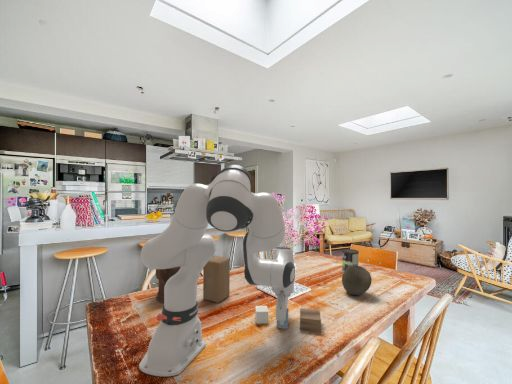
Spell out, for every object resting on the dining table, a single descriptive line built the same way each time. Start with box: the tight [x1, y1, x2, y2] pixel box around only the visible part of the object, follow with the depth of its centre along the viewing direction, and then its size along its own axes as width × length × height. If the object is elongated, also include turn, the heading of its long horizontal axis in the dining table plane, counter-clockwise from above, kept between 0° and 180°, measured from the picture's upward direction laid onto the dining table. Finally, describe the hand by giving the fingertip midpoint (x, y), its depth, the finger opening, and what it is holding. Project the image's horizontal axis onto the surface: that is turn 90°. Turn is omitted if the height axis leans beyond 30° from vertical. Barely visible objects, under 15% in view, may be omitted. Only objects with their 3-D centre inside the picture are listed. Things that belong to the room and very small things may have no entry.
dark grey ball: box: [341, 264, 372, 296], centre depth 128 cm, size 14×14×15 cm
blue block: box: [276, 307, 289, 330], centre depth 98 cm, size 4×4×6 cm
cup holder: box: [155, 266, 181, 305], centre depth 122 cm, size 18×24×25 cm
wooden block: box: [202, 255, 231, 304], centre depth 122 cm, size 10×10×20 cm
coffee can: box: [341, 248, 360, 273], centre depth 163 cm, size 10×10×14 cm
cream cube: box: [254, 305, 269, 325], centre depth 102 cm, size 5×5×5 cm
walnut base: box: [299, 307, 322, 333], centre depth 98 cm, size 8×8×5 cm
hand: (282, 319), depth 98 cm, fingers closed on blue block, 4 cm apart
